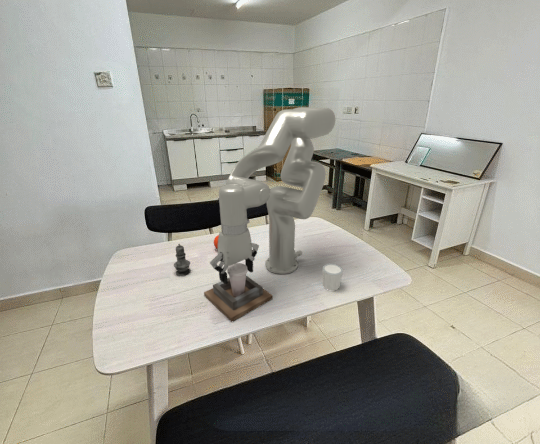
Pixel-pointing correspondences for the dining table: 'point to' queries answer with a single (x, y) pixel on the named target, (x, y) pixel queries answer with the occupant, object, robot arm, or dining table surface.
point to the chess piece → (181, 262)
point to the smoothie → (237, 278)
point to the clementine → (216, 241)
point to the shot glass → (332, 276)
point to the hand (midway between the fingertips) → (237, 276)
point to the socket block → (237, 298)
